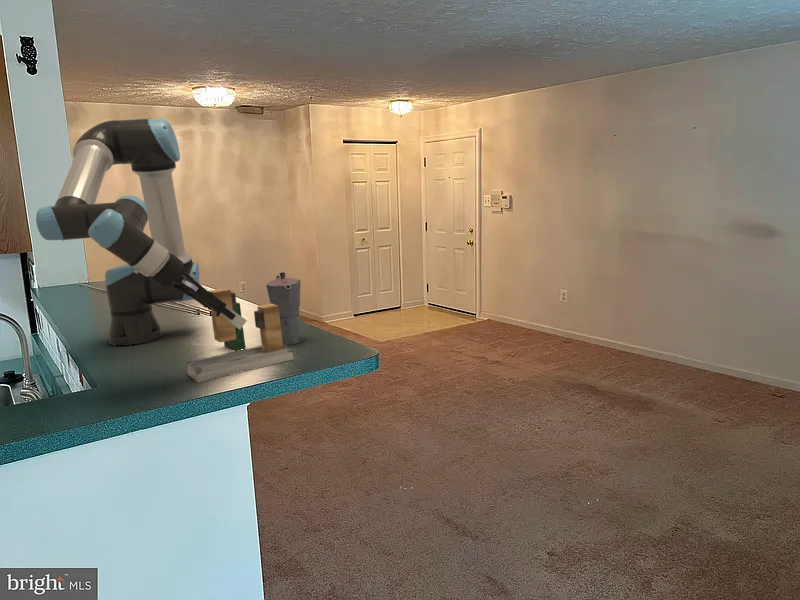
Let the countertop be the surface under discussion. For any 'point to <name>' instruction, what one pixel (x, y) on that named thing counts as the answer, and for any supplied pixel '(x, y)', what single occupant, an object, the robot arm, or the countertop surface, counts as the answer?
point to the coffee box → (237, 335)
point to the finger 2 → (269, 327)
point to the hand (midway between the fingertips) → (239, 323)
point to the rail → (236, 362)
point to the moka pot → (287, 307)
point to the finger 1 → (220, 325)
